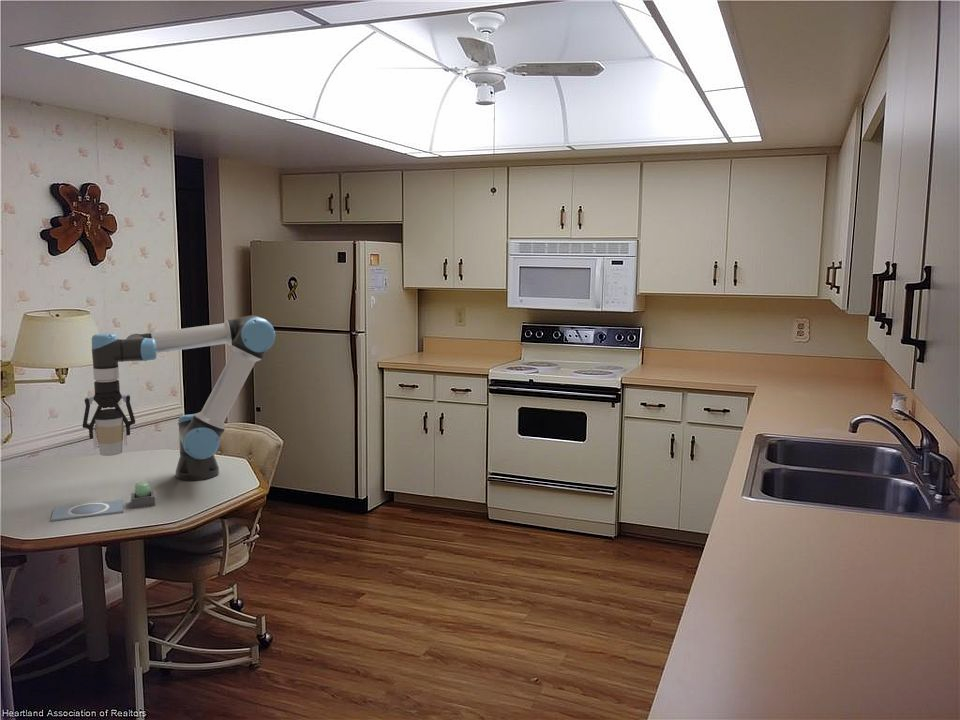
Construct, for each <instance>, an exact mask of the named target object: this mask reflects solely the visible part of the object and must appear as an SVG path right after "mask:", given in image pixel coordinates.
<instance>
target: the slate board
mask: <svg viewBox="0 0 960 720" xmlns="http://www.w3.org/2000/svg"><path fill="white" fill-rule="evenodd" d="M123 513H124V499H118V500H117V499H116V500H109V501H108V500H107V501H101V502H100V501H99V502H90V503H82V504H73V505H72V504H71V505H64V506H56V507H54V508H53V512H52V515H51V518H50V522H57V521H65V520H74V519H81V518H82V519H83V518H91V517H100V516H108V515H114V514H123Z"/></svg>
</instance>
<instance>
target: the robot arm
mask: <svg viewBox="0 0 960 720" xmlns="http://www.w3.org/2000/svg"><path fill="white" fill-rule="evenodd" d="M275 341H276V331H275V329H274V326H273V324H272V323H270V322H269V320H267V319H265V318H262V317H261V316H258V315H246V316H242V317H238V318H233V319H226V320H225V321H224V322H222V323H214V324H209V325H201V326H200V325H199V326H193V327H185V328H177V329H171V330H162V331H154V332H153V331H152V332H147V333H132V334H130V335H128V336H127V337H126V339H125V338H123V339H120V338H118V337H117V334H115V333H109V332H108V333H107V332H106V333H105V332H104V333H97V334H94V335H92V337H91V354H92V355H91V356H92V357H91V358H92V370H93V371H92V373H93V380H94V383H93V386H94V395H93V396H92V397H87V396H86V397H85V398H84V403H85V409H84V414H83V420H82V421H83V422H82V429H83V428H84V429H87V430H88V435H89V436H88V437H89V439H92V441H93V449H94V450H95V449H97V447H98V446H97V444H98V441H97V434H96V428H95V425H96V424H95V419H94V418H95V416H97V414H98V412H100V411H101V410H103V409H116V410H119V412H120V414H122V416H123V423H124V424H123V440H124V447H126V446H127V447H128V436H130V435H131V427H130V426H132V425H135V424H136V418H135V415H134V411H133V407H132V404H131V395H130V394H127V395H125V394H121V390H120V380H119V379H120V373H119V363H123V362H142V361H143V362H147V361H155V360H156V359H157V354H161V353H168V352H173V351H174V352H175V351H182V350H183V351H184V350H189V349H190V350H191V349H197V348H204V347H210V346H219V345H229V346H230V347H231V349H232V353H231V354H230V356H229V358H228V360H227V362H226V363H225V366H224V368H223V369H222V371H221V374H220V375H219V377H218V379H217V381H216V383H215V385H214V387H213V388H212V390H211V393H210V394H209V396H208V397H207V400H206V401H205V404H203V407H202V409H201V411H199V412H197V413H192V414H183V415H181V416H179V417H178V422H177V426H178V439H179V441H178V443H179V459H178V462H177V466H176V469H175V478H176V479H178V480H182V481H203V480H207V479H212V478H214V477H217V476H218V475H219V473H220V467H219V464H218V461H217V459H216V456H215V454H216V452H218V450H219V447H220V443H221V441H220V440H221V437H222V436H223V434H224V432H225V430H226V425H225V422H226V419H227V417H228V415H229V412H230V411H231V409H232V407H233V405H234V403H235V402H236V400H237V399H238V396H239V394H240V393H241V390H242V388H243V387H244V385H245V382H247V379H248V377H249V375H250V374H251V372H252V369H253V368H254V365H255V363H256V362H259V361H262V359H263V358H264V357H265V354H266V352H267V350H270V348H271V347H272V346H273V345H274V343H275ZM121 400H123V402H124V403H125V406H126V409H127V412H128V415H129V419H130V420H129V419H128V418H127V416H126V413H124V411H123V410H122V408H121V406H120V404H119V402H120V401H121ZM93 402H95V403H96V404H97V407H96V410H95V413H94V414H93V416H92V419H91V421H90V422H89V423H88V420H89V415H90V408H91V405H92V404H93Z"/></svg>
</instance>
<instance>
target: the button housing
mask: <svg viewBox="0 0 960 720" xmlns="http://www.w3.org/2000/svg"><path fill="white" fill-rule="evenodd" d="M130 501H131V502H130V504H131V509H137V508H146V507H154V505H155V506H156V497H155V490H150V496H148V497H139V498H136V496H135V492H131V493H130ZM144 506H145V507H144Z"/></svg>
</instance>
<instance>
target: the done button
mask: <svg viewBox="0 0 960 720" xmlns="http://www.w3.org/2000/svg"><path fill="white" fill-rule="evenodd" d="M150 491H151V485H150V482H147V481H142V482H138V483H136V484H134V493H135V496H136V498H139V497H148V496H150Z"/></svg>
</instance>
